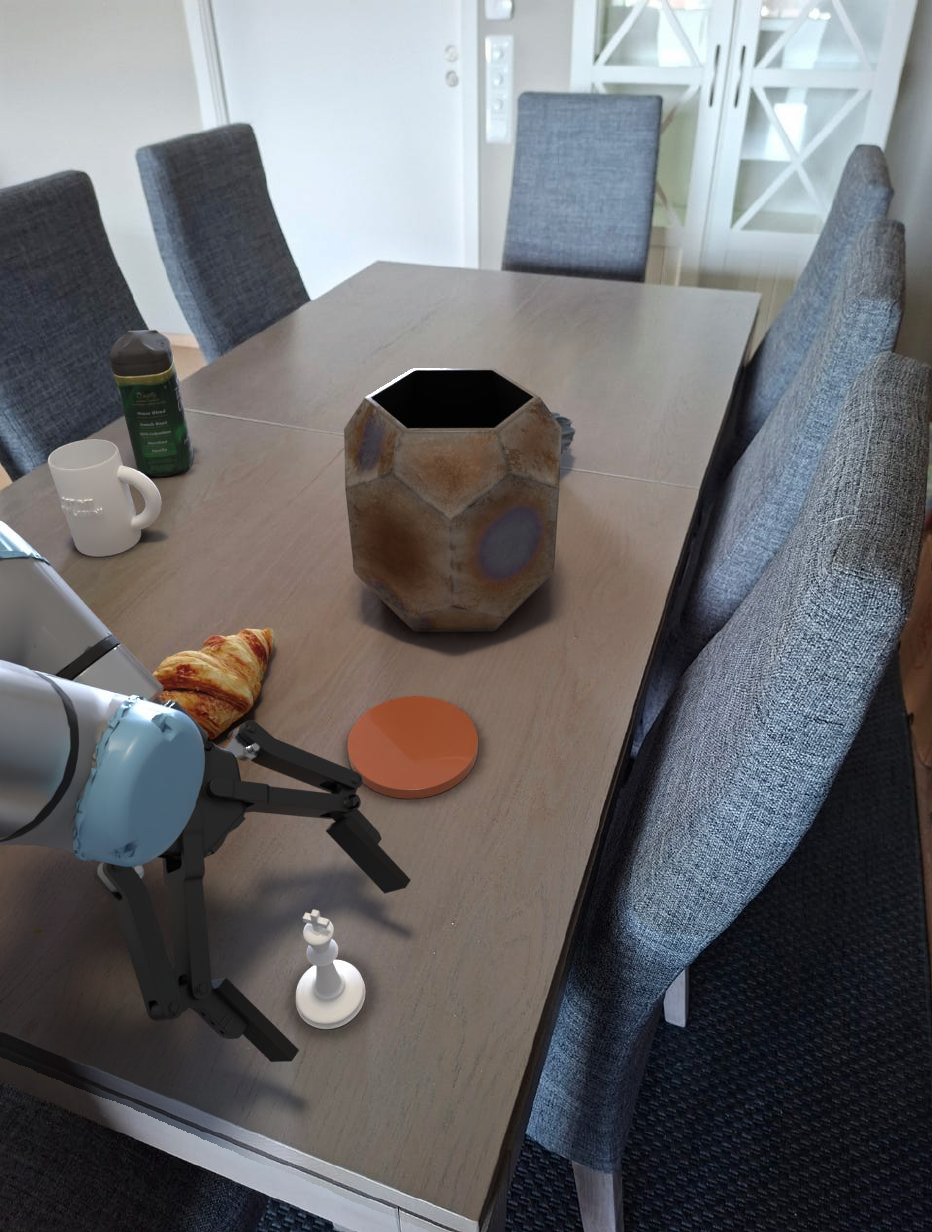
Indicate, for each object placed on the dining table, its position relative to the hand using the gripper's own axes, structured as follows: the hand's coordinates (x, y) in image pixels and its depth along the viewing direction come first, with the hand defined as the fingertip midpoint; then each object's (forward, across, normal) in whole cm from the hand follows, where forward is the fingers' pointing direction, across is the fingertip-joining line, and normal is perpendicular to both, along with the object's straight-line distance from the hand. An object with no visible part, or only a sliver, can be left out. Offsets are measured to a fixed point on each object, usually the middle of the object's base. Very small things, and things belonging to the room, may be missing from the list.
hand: (346, 965), depth 59 cm
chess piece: (+2, 0, -5) cm, 6 cm away
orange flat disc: (-2, -23, -10) cm, 25 cm away
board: (-14, -78, -22) cm, 83 cm away
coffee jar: (-45, -57, -53) cm, 90 cm away
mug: (-38, -38, -46) cm, 71 cm away
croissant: (-17, -19, -24) cm, 35 cm away
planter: (-8, -47, -16) cm, 51 cm away
